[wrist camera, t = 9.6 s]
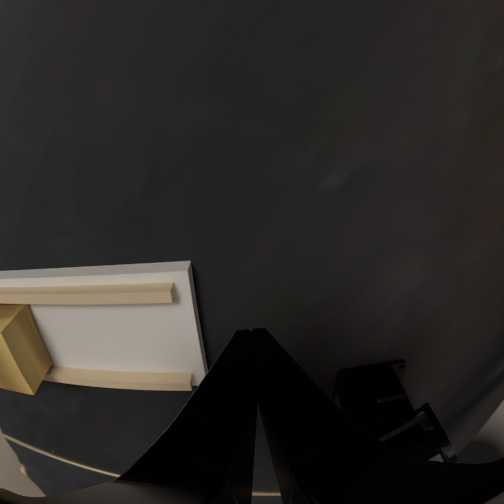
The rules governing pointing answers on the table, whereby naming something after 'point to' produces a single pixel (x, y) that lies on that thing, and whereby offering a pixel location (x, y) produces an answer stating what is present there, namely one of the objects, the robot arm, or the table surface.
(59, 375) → the track
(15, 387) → the block
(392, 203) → the table surface
